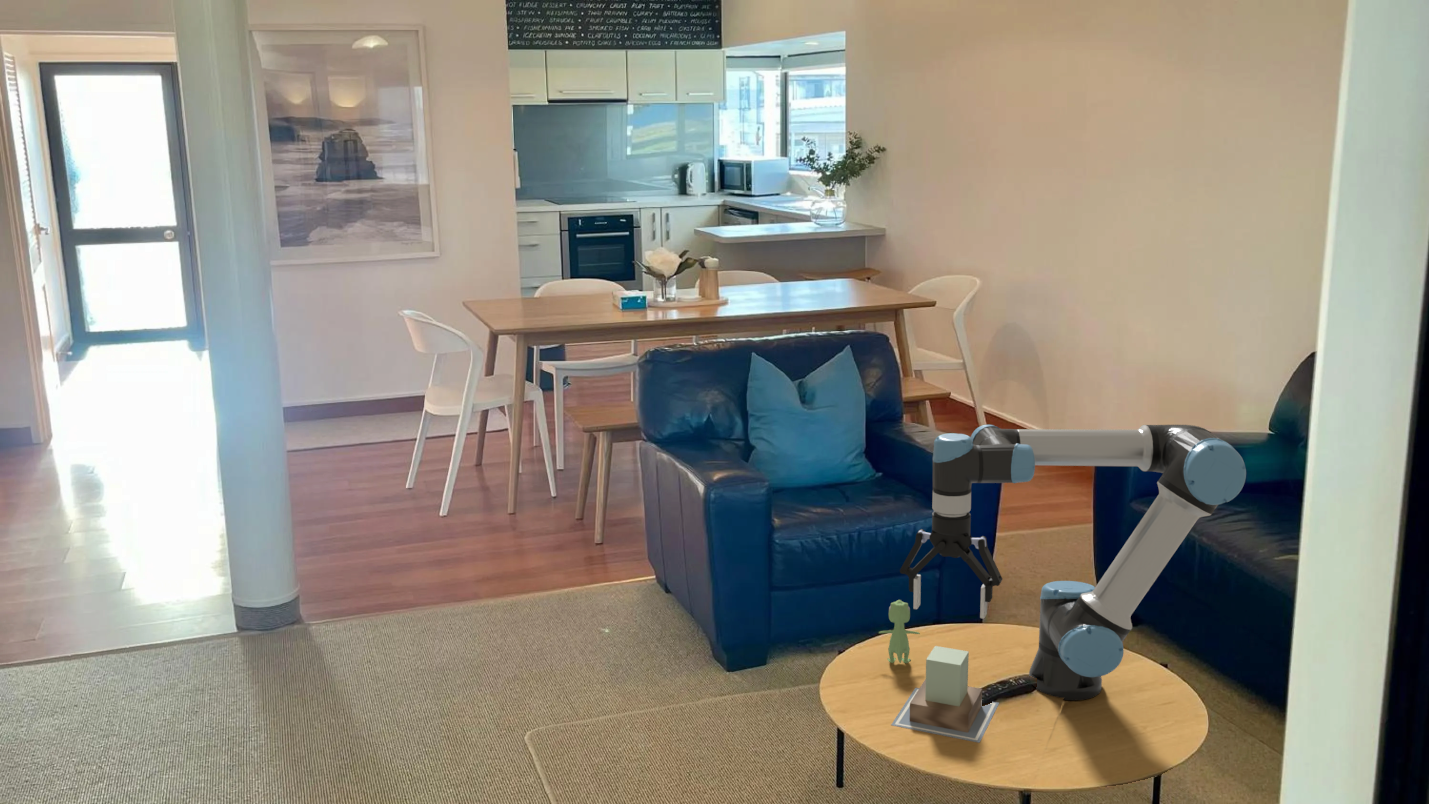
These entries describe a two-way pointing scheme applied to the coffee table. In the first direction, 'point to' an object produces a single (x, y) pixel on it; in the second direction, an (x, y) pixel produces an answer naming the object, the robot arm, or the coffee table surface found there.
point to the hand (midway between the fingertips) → (949, 611)
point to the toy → (899, 631)
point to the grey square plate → (973, 734)
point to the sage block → (946, 676)
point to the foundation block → (946, 710)
